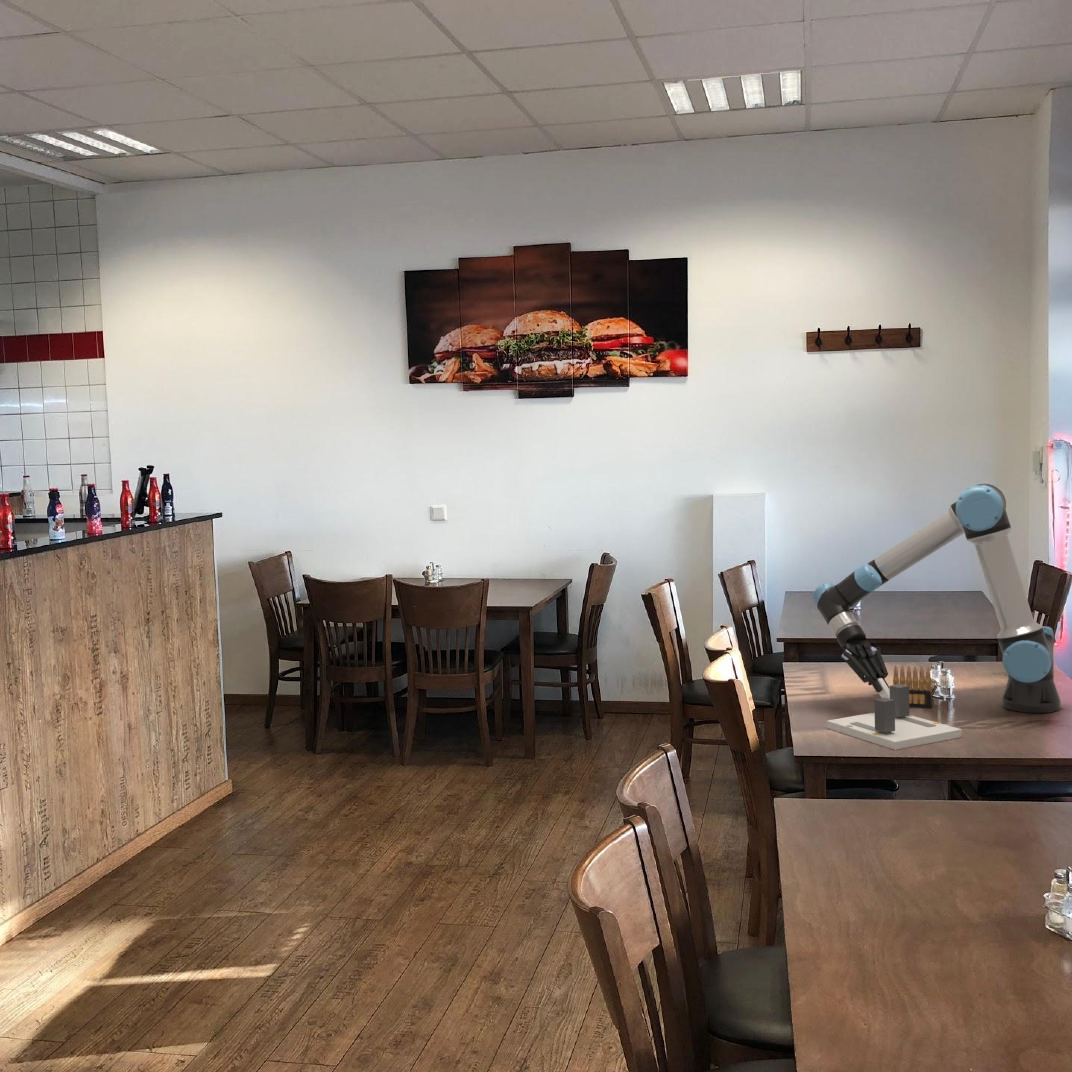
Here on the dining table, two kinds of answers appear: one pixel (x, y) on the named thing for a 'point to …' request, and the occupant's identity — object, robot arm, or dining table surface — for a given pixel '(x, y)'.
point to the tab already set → (884, 715)
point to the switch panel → (904, 736)
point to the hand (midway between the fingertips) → (889, 700)
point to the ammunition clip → (916, 686)
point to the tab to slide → (900, 699)
